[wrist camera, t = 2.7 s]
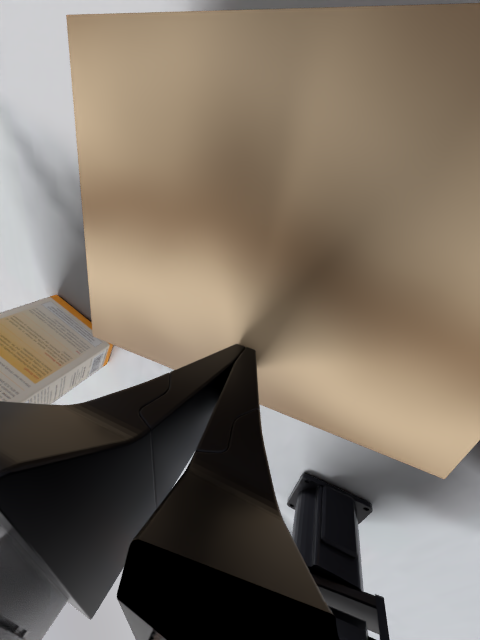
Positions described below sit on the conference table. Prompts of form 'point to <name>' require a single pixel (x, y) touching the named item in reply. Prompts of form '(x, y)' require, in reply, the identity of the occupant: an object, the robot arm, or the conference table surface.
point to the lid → (294, 207)
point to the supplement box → (46, 351)
